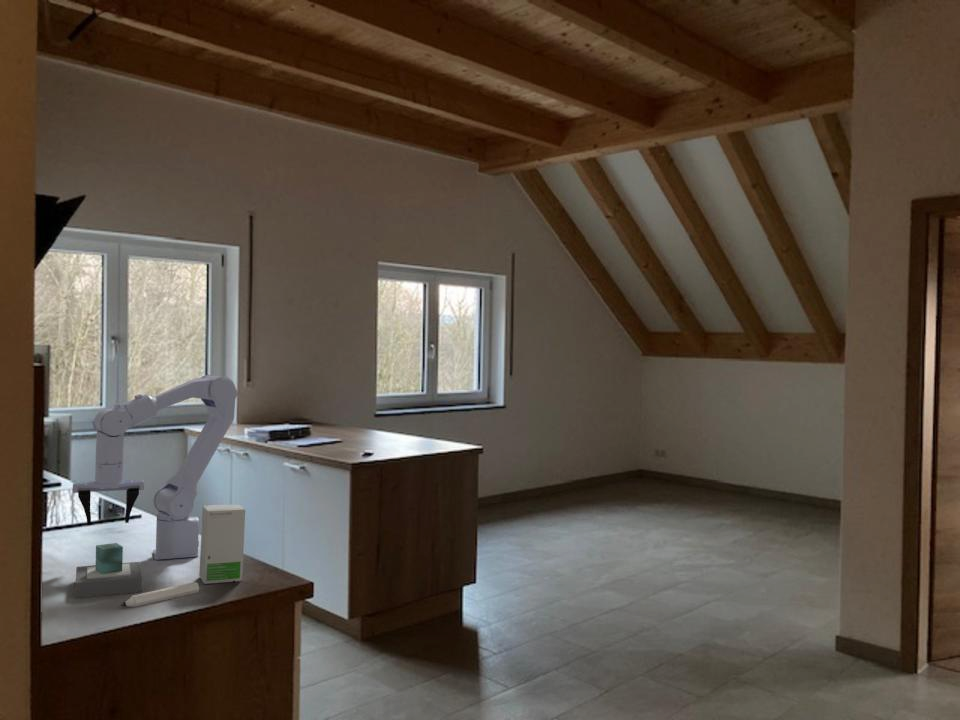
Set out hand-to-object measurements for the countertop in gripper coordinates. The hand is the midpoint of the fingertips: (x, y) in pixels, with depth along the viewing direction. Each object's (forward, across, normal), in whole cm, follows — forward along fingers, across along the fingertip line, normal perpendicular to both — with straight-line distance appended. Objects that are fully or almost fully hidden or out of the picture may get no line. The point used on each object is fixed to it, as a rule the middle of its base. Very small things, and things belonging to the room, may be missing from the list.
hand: (108, 523), depth 179 cm
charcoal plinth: (+9, 0, +17) cm, 19 cm away
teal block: (+6, 0, +17) cm, 18 cm away
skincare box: (+10, -22, +19) cm, 31 cm away
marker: (+10, -9, +29) cm, 32 cm away
